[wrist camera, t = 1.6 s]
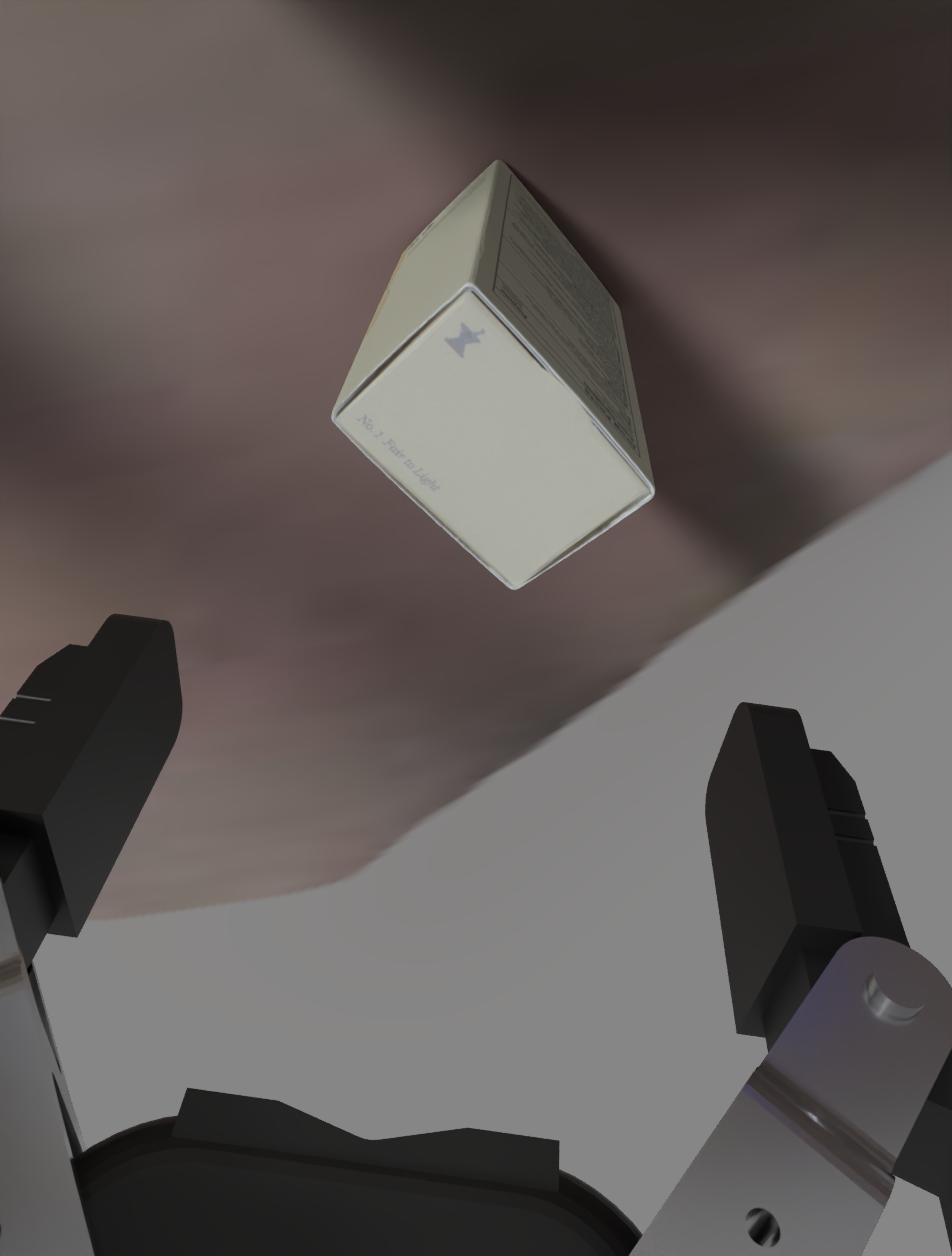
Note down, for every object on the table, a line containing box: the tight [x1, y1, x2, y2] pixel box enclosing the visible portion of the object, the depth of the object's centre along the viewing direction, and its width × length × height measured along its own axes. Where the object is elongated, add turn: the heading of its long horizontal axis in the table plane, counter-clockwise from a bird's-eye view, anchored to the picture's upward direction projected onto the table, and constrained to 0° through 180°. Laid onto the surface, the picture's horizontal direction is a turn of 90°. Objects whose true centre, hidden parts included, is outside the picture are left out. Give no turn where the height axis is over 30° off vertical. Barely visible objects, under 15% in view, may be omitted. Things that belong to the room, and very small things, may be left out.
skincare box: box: [331, 159, 655, 590], centre depth 24 cm, size 6×4×12 cm
